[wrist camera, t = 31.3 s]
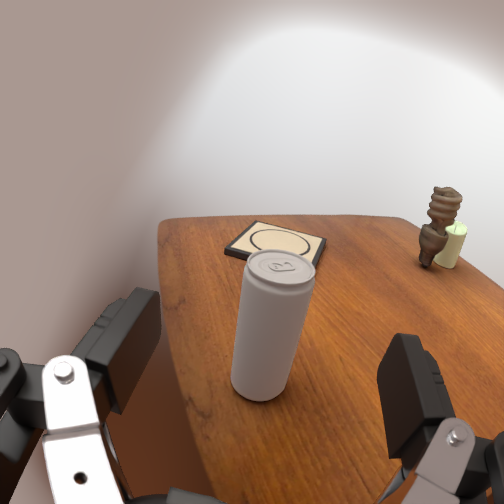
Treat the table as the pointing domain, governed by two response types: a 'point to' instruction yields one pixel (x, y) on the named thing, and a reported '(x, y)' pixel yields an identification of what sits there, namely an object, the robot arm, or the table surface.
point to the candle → (452, 245)
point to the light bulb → (438, 223)
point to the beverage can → (270, 321)
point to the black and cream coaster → (275, 242)
